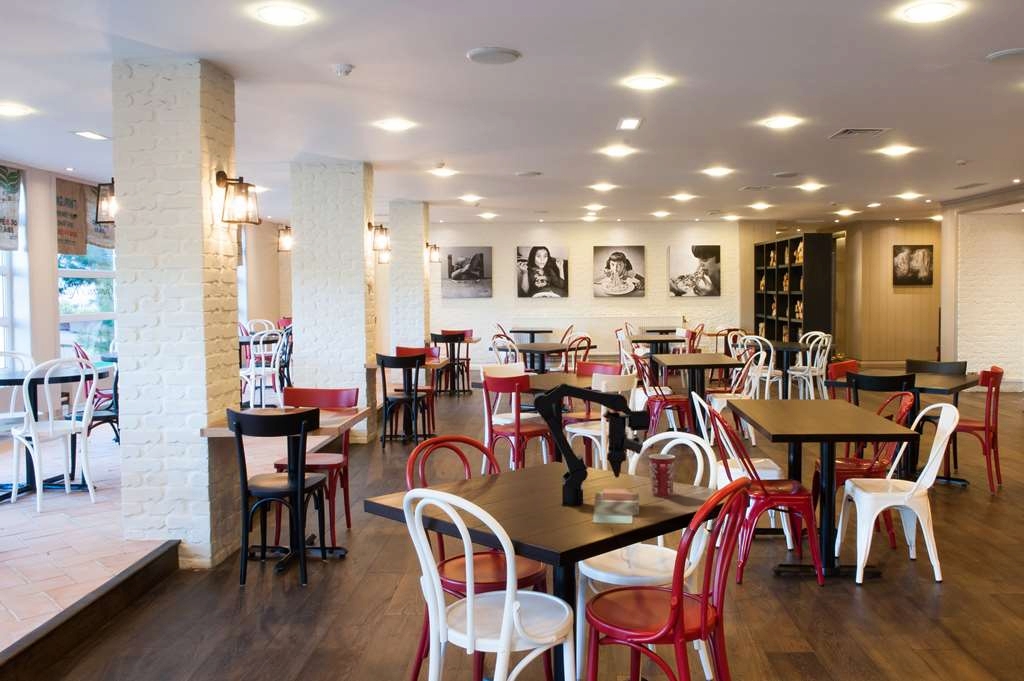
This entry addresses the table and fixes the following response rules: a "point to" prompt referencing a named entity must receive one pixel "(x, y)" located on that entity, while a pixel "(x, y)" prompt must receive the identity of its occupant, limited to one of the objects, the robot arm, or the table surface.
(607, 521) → the mat
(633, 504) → the deck
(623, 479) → the table surface
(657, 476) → the mug
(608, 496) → the flat rectangular block
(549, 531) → the table surface
